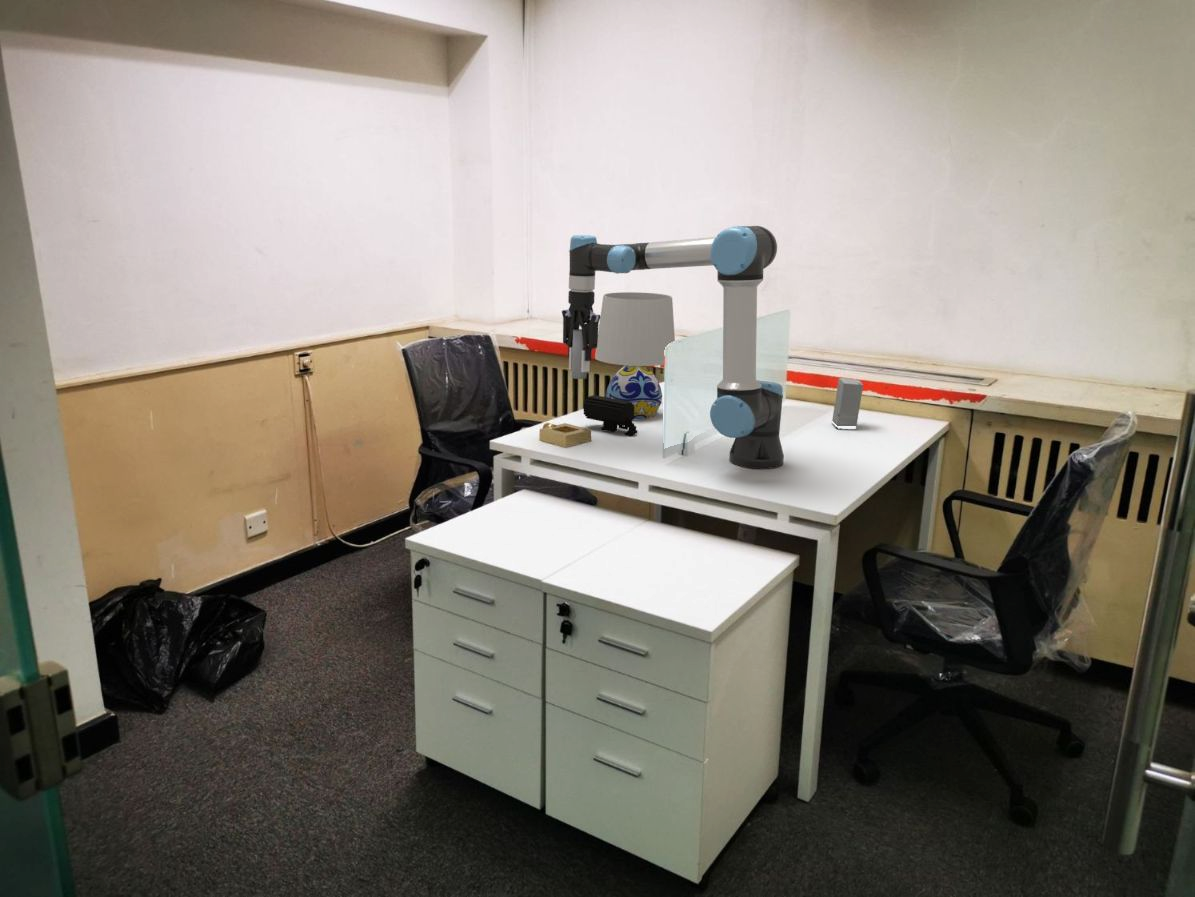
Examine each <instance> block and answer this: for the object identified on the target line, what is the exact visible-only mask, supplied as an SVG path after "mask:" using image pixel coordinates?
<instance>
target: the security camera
mask: <svg viewBox="0 0 1195 897" xmlns="http://www.w3.org/2000/svg"><path fill="white" fill-rule="evenodd" d="M583 415H584V416H585V418H586V419H589V420H594V421H599V422H601V423H602V422H603V425H602V426H601V428H600V429H601V431H603V432H609V433H616V432H618V429H622V430H625V431H626V432H624V435H625V436H628V437H634V436H636V434H638V430H637V425H635V423H634V422H633V418H634V406H633V404H632V402H629V401H624V400H618V399H613V398H608V397H606V396H601V395H596V394H592V395H589V396H586V399H585V400H584V402H583Z"/></svg>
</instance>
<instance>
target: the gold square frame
mask: <svg viewBox="0 0 1195 897" xmlns="http://www.w3.org/2000/svg"><path fill="white" fill-rule="evenodd" d="M538 439H539V441H540V442H544V443H548V444H551V445H554V446H559V447H561V448H565V449H567V448H570V447H573V446H577V445H581V444H586V443H589V442H592V429H590V428H586V427H581V426H578V425H575V424H571V423H566V422H564V423H559V424H553V423H550V422H546V423H544V424H543V425H542V428H539V438H538Z"/></svg>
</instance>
